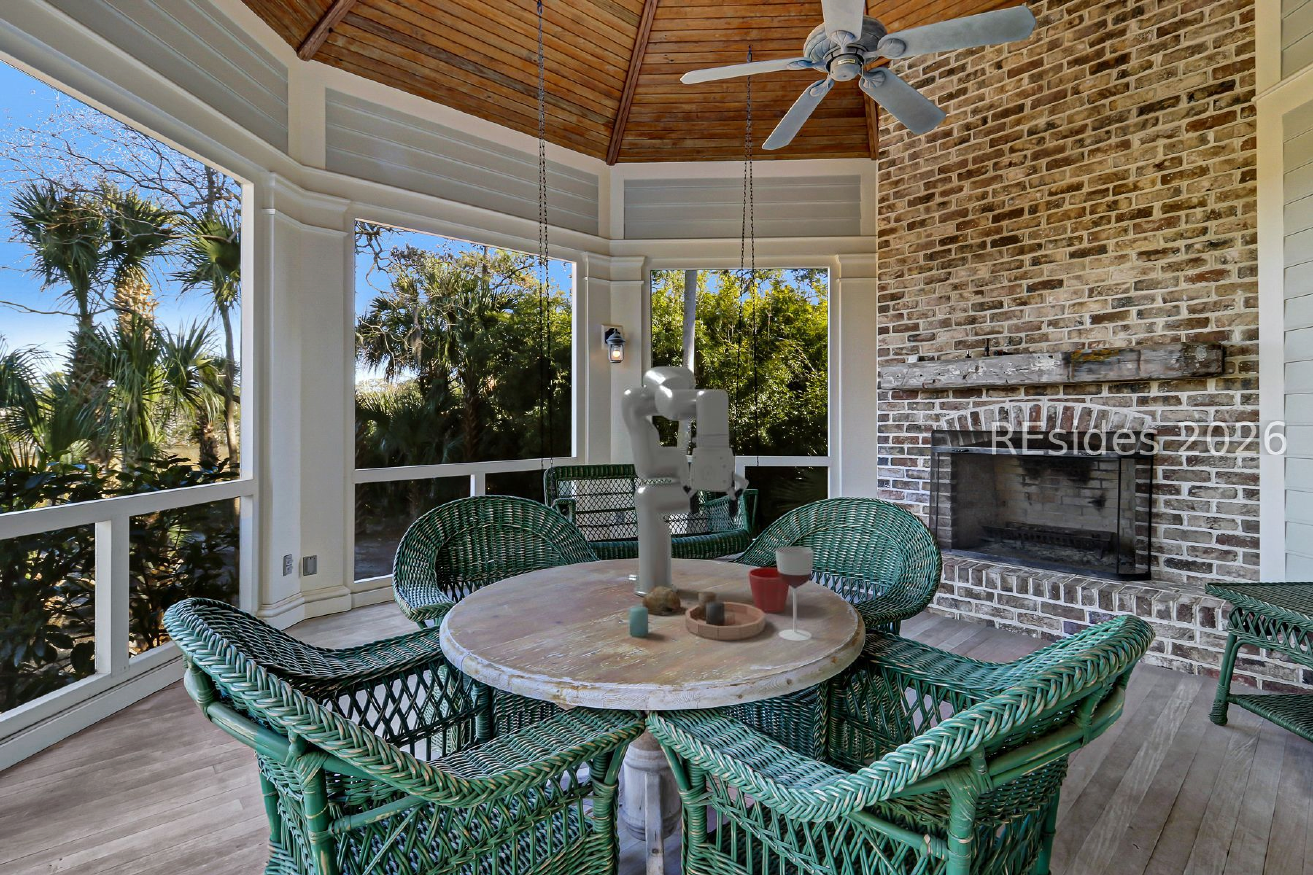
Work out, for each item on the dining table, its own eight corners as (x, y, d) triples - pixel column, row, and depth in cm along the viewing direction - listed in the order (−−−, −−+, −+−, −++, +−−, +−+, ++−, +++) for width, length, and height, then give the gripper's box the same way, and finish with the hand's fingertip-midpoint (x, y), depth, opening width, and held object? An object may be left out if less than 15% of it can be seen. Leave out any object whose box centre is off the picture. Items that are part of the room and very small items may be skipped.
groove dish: (672, 632, 155) (672, 619, 155) (706, 609, 172) (706, 598, 172) (746, 645, 146) (746, 632, 146) (775, 620, 162) (775, 608, 162)
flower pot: (791, 615, 166) (790, 578, 165) (747, 614, 168) (747, 576, 167) (791, 603, 176) (790, 568, 176) (750, 601, 178) (749, 566, 178)
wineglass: (807, 643, 146) (806, 555, 145) (771, 636, 151) (770, 551, 150) (818, 632, 153) (818, 548, 152) (783, 626, 158) (782, 545, 157)
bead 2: (700, 621, 160) (699, 597, 159) (697, 615, 164) (697, 592, 164) (717, 620, 160) (717, 596, 160) (715, 614, 164) (714, 591, 164)
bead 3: (720, 625, 157) (720, 600, 156) (727, 631, 153) (727, 605, 152) (703, 626, 156) (703, 602, 155) (709, 633, 151) (709, 607, 151)
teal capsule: (626, 635, 154) (625, 610, 154) (635, 629, 158) (635, 605, 157) (642, 638, 152) (641, 613, 151) (651, 632, 156) (651, 607, 155)
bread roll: (649, 629, 168) (655, 605, 165) (633, 603, 176) (639, 580, 173) (683, 623, 173) (689, 599, 169) (666, 598, 181) (671, 575, 177)
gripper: (672, 442, 153) (673, 514, 154) (741, 443, 144) (741, 520, 145) (687, 441, 159) (688, 510, 160) (753, 441, 151) (754, 514, 152)
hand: (713, 514), depth 153 cm, fingers open, 9 cm apart
